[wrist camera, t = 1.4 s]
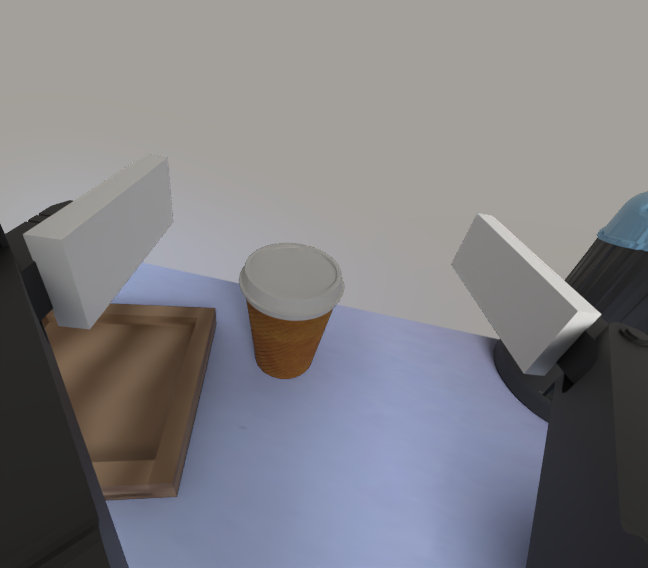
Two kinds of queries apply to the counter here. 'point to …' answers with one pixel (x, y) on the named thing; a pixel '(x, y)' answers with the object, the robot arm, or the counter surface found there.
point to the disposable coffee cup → (289, 304)
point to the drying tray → (136, 391)
